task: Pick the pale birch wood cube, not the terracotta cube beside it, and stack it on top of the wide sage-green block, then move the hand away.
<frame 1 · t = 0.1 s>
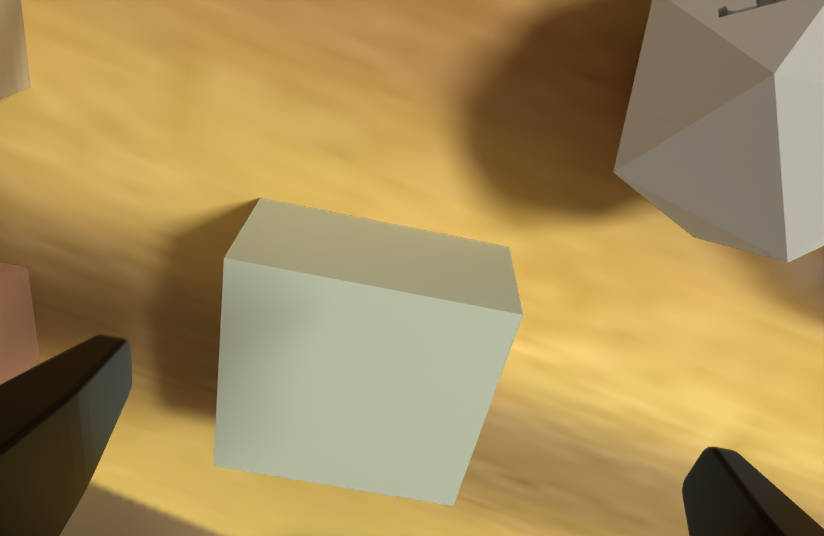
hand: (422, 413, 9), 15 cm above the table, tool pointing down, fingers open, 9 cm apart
die: (716, 74, 21), on the table
sage block: (366, 319, 27), on the table
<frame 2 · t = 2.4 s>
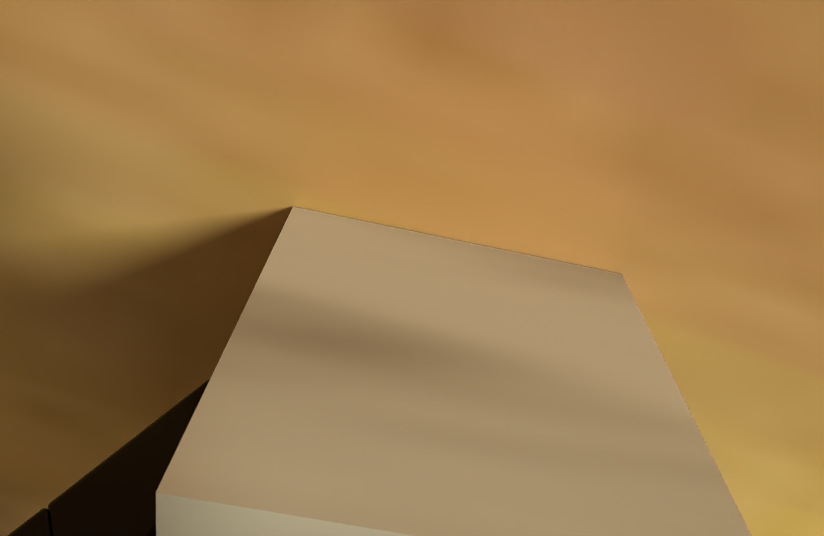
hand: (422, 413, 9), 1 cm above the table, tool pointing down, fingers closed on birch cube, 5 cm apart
birch cube: (424, 368, 10), on the table, touching gripper
when the fingers open (7 cm above the table, at t = 7.4 s): birch cube drops 2 cm, resting on sage block.
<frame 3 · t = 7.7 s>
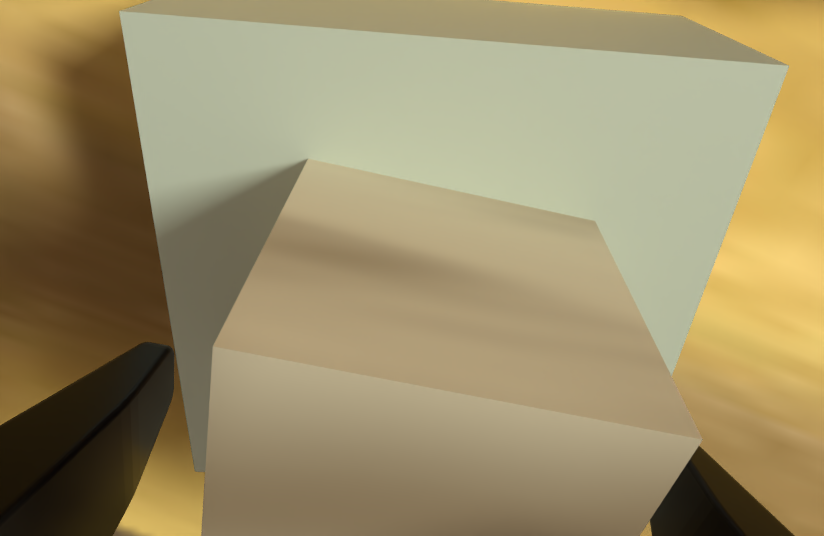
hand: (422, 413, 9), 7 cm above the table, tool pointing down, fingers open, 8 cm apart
sage block: (430, 202, 16), on the table, touching birch cube
birch cube: (421, 308, 12), point 5 cm above the table, touching sage block
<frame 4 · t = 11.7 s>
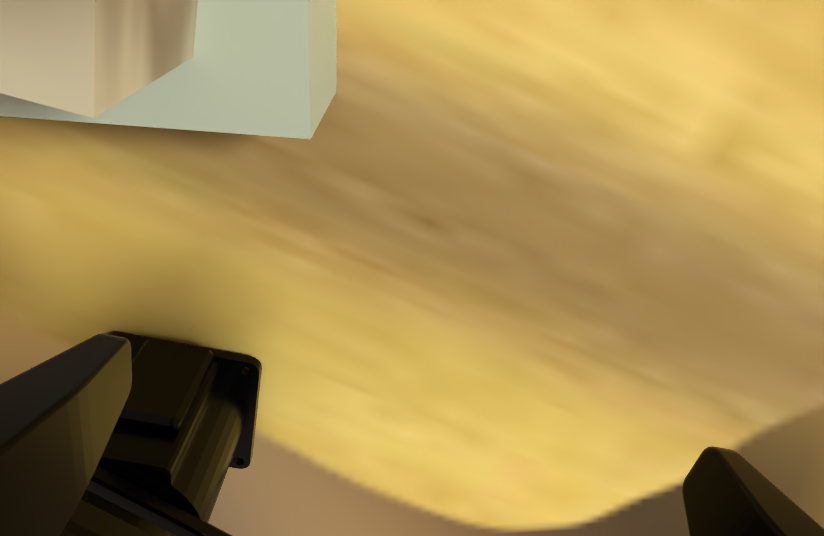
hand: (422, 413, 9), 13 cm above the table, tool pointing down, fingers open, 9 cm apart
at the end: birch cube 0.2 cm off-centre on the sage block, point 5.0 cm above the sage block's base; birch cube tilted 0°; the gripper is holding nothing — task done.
